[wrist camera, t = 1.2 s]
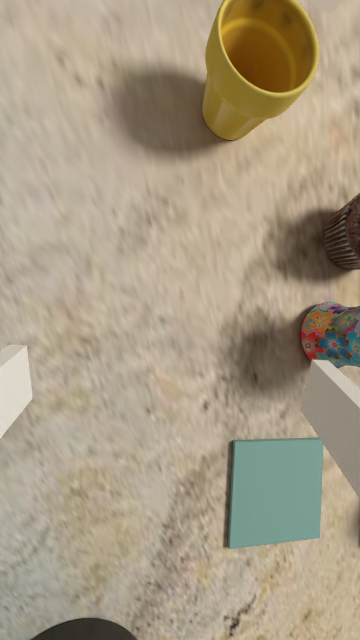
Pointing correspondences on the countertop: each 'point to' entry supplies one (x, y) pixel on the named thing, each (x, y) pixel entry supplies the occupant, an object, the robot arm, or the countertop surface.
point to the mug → (332, 334)
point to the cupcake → (344, 236)
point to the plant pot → (256, 63)
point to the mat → (275, 491)
